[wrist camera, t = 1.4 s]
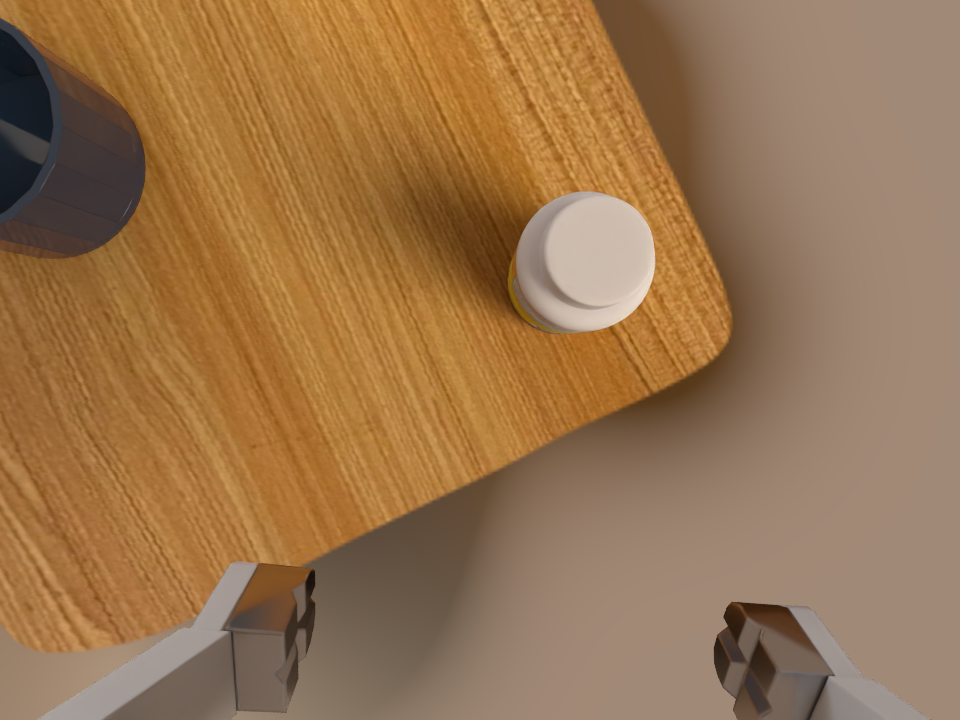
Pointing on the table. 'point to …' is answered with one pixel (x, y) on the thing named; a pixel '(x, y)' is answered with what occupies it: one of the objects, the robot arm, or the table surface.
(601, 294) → the supplement bottle
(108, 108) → the crock
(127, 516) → the table surface
